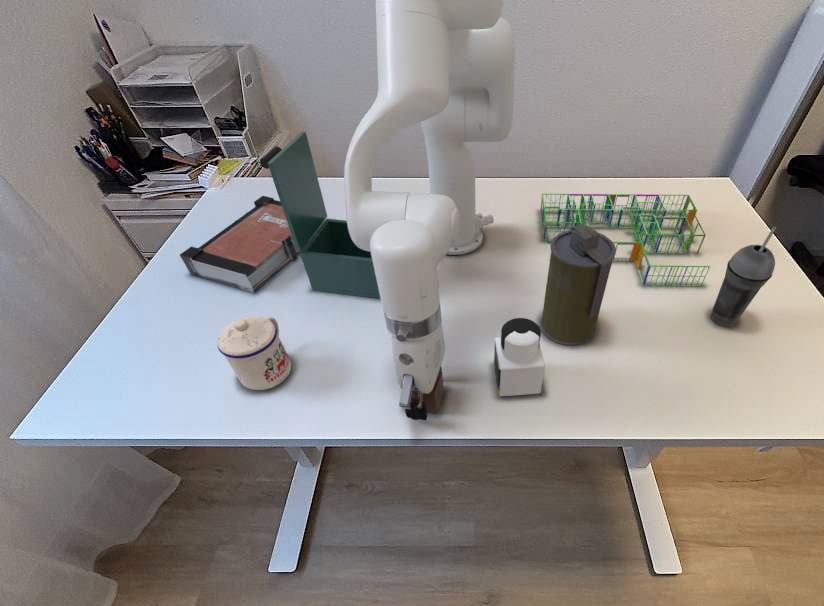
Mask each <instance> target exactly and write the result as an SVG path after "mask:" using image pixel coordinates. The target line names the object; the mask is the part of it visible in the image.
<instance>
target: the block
mask: <svg viewBox="0 0 824 606" xmlns="http://www.w3.org/2000/svg"><path fill="white" fill-rule="evenodd" d="M443 374H444V373H443V370H442V371H441V370H439V373H438V376H437V379H436V382H435V385H434V387H433V389H432V391H431V392H430V393H428V394H426V393H424V394H423V402H425V405H426V411H427V413H428V414H429V413H431V414H435V415H436V414H438V411H439V408H440V405H441V402H442V398H443V396H444V393H445V386H444V385H445V384H444V375H443ZM414 385H415V382H414ZM415 386H416V385H415ZM411 398H413V399H418V392H416V391H412V396H411Z"/></svg>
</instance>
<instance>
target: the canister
mask: <svg viewBox="0 0 824 606" xmlns="http://www.w3.org/2000/svg"><path fill="white" fill-rule="evenodd" d="M573 226H574V225H573ZM563 231H564V230H563ZM550 241H551V244H550V256H549V263H548V271H547V279H546V286H545V294H544V300H543V308H542V315H541V318H540V321H539V328H540V330H541V333H543V335H544V336H545V337H546V338H547V339H548V340H550V341H552V342H555V343H557V344H559V345H564V346H578V345H582V344H585V343H586V342H588V341H590V340H591V339H592V338H593V337H594V335H595V333H596V331H597V323H598V320H599V314H600V311H601V307H602V304H603V300H604V295H605V291H606V289H607V284H608V280H609V276H610V272H611V268H612V265H613V262H614V261H613V259H614V258H616V254H617V250H616V244H615V245H614V243H613V242H614V241H613V240H611V239H610V238H609V237H608V236H606V235H605V234H603V233H600V232H599V231H597V230H596V229H593V228H592V227H590V226H588V225H587V224H586V225H585V223H582V224H580V225H577V226H574V227H572V228H571V227H569V229H568V230H565V231H564V232H559V233H558V234H557V235H556V234H555V237H554V236H553V238H552V239H551V240H550ZM614 260H615V259H614Z"/></svg>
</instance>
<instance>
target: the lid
mask: <svg viewBox="0 0 824 606" xmlns="http://www.w3.org/2000/svg"><path fill="white" fill-rule="evenodd" d="M308 139H309V138H308V135H307V131H300V132H299V133H298V134H297V135H296V136H295V137H294V138H293V139H292V140H290V142H289V143H287V144H286V145H285V146H284V147H283V148H281V147H280V146H278V145H276V146H273V147H272V148H271V149H270V150H269V151H268V152H266V154H264V155H263V156H262V157H261V158H260V159H259V164H260V166H261V167H262V168H263V169H265V170H268V169H269V172H270V175H271V178H272V182H273V184H274V187H275V190H276V192H277V195H278V199H279V201H280V202H281V205H282V208H283V211H284V214H285V217H286V220H287V223H288V226H289V229H290V232H291V235H292V238H293V241H294V244H295V247H296V250H297V251H301V250H302V249H303V248H304V246H305V245H306V244H307V242H308V241H309V240H310V239H311V237H312V236H313V235H314V233H315V232H316V231H317V229H318V228H319V227H320V226H321V224H322V223H323V222H324V221H325V220H326V219H328V213H327V209H326V205H325V202H324V198H323V193H322V190H321V186H320V181H319V178H318V175H317V170H316V167H315V163H314V159H313V154H312V151H311V147H310V143H309V140H308Z"/></svg>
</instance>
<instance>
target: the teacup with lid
mask: <svg viewBox="0 0 824 606" xmlns="http://www.w3.org/2000/svg"><path fill="white" fill-rule="evenodd" d="M216 344H217V345H216V346H217V349H218V351H219V352H220V354H222V355H223V356H224V357H225V359H226V361H227V362H228V364H229V366H230V367H231V369H232V370H233V371H234V374H235V375H236V376H237V378H238V380H239V382H240V383H241V384H242V386H243V387H245V388H247V389H249V390H253V391H264V390H269V389H272V388H275V387H276V386H278V385H280V384H281V383H282V382H284V381H285V380H286V379H287V378H288V376H289V375H290V373H291V370H292V362H291V360H290V358H289V355H288V353H287V351H286V349H285V347H284V345H283V342H282V341H281V338H280V327H279V323H278V321H277V319H276V318H275V317H273V316H266V317H263V316H258V315H249V316H244V317H240V318H238V319H235V320H233V321H231V322H229V323H228V324H227V325H225V326H224V327H223V328H222V329H221V331H220V332H219V334H218V335H217V338H216Z"/></svg>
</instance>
